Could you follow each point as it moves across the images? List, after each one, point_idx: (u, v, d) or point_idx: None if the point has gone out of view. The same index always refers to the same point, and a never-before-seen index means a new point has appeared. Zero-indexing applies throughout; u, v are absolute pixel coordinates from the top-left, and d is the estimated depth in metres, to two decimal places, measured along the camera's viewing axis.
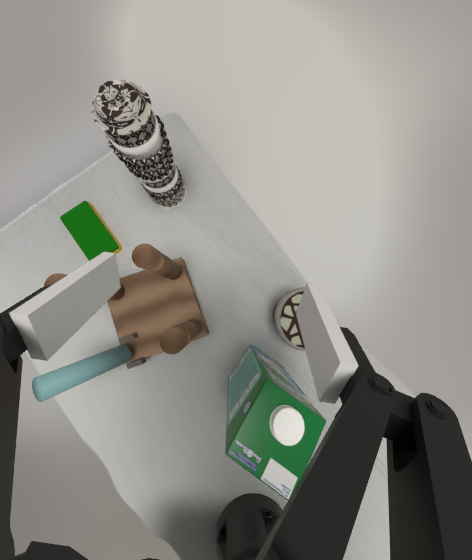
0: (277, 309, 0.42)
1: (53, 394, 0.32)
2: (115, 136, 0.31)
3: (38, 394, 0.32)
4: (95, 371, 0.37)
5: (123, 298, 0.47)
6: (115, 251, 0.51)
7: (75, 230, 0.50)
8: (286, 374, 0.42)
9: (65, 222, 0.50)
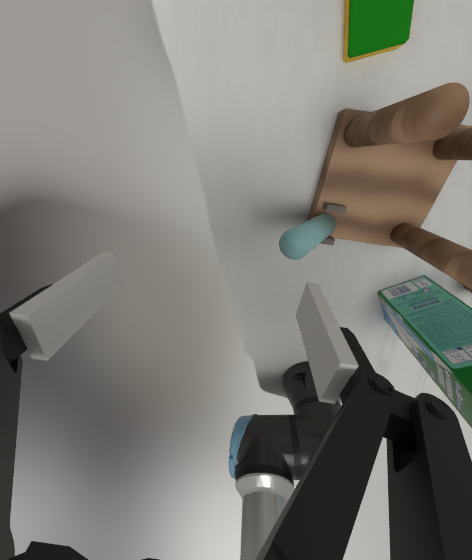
0: None
1: None
2: None
3: (290, 249, 0.26)
4: (321, 241, 0.31)
5: (358, 149, 0.32)
6: (392, 48, 0.28)
7: None
8: None
9: None
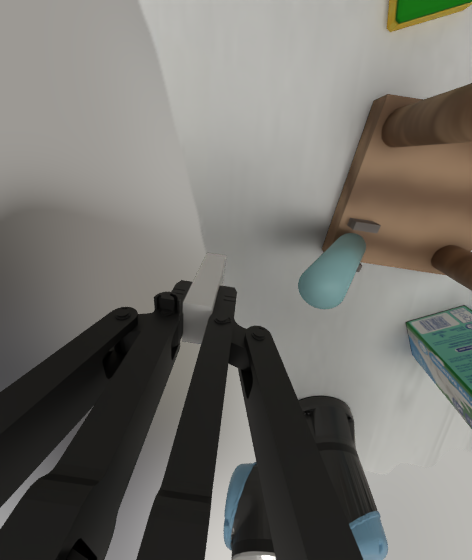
0: None
1: None
2: None
3: (315, 295, 0.18)
4: None
5: (399, 149, 0.24)
6: (458, 8, 0.20)
7: None
8: None
9: None
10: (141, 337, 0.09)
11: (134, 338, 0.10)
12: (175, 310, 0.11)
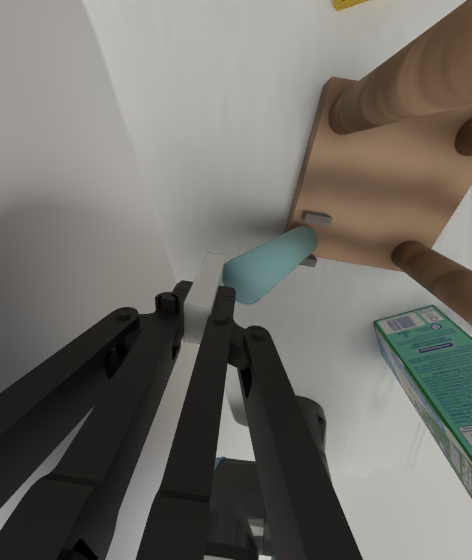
0: None
1: None
2: None
3: (238, 289, 0.16)
4: None
5: (349, 137, 0.23)
6: None
7: None
8: None
9: None
10: (142, 337, 0.09)
11: (135, 338, 0.10)
12: (176, 310, 0.11)
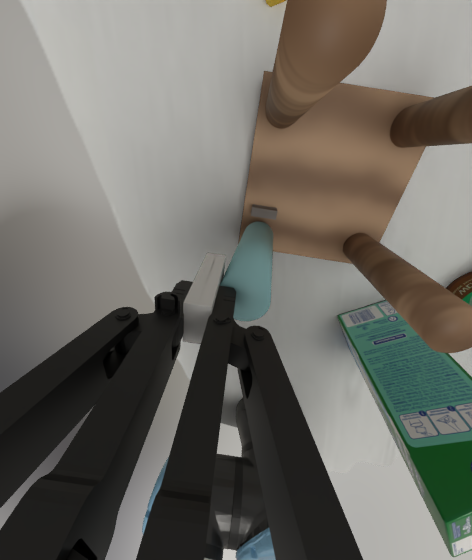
0: None
1: None
2: None
3: (239, 307, 0.15)
4: None
5: (287, 131, 0.23)
6: None
7: None
8: None
9: None
10: (142, 337, 0.09)
11: (135, 338, 0.10)
12: (176, 310, 0.11)
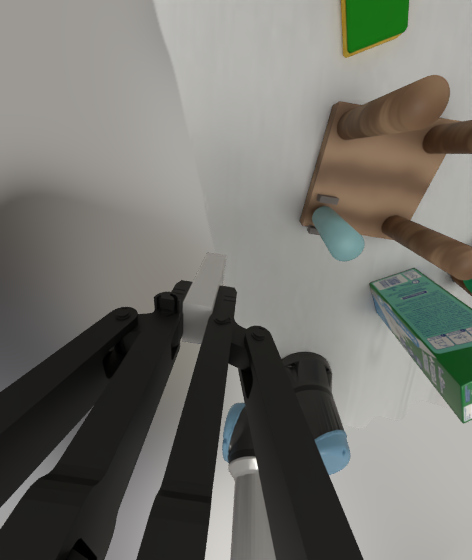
0: None
1: None
2: None
3: (342, 252, 0.25)
4: None
5: (350, 141, 0.33)
6: (391, 38, 0.29)
7: None
8: None
9: None
10: (141, 337, 0.09)
11: (134, 338, 0.10)
12: (175, 310, 0.11)
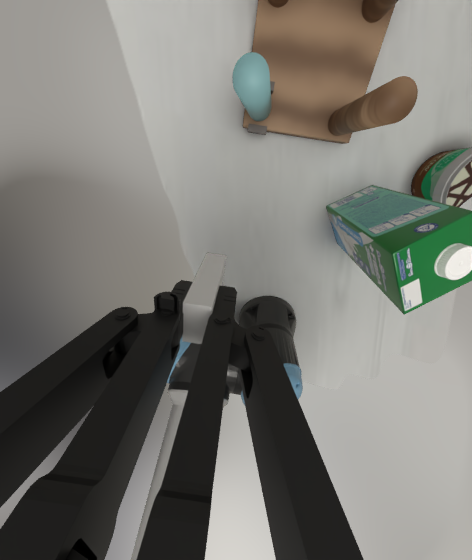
0: (466, 153, 0.32)
1: (258, 101, 0.23)
2: None
3: (247, 87, 0.22)
4: (267, 105, 0.28)
5: (282, 9, 0.30)
6: None
7: None
8: None
9: None
10: (141, 337, 0.09)
11: (134, 338, 0.10)
12: (175, 310, 0.11)
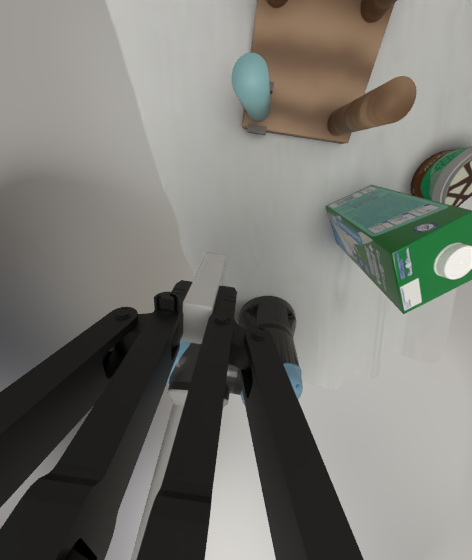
0: (465, 153, 0.32)
1: (257, 101, 0.23)
2: None
3: (247, 87, 0.22)
4: (266, 105, 0.28)
5: (281, 10, 0.30)
6: None
7: None
8: None
9: None
10: (141, 337, 0.09)
11: (134, 338, 0.10)
12: (175, 310, 0.11)
